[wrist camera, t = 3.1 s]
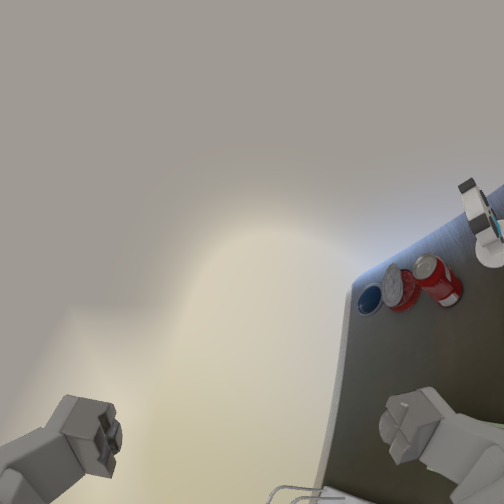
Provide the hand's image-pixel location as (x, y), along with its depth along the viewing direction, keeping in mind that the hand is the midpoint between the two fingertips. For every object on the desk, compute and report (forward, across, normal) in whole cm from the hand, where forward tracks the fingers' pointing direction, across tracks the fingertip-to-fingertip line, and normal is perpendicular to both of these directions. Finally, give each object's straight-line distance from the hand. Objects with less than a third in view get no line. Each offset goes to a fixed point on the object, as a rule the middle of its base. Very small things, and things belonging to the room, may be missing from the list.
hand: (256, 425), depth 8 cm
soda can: (+40, +45, -13) cm, 62 cm away
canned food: (+52, +41, -18) cm, 69 cm away
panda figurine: (+36, +53, -2) cm, 64 cm away
